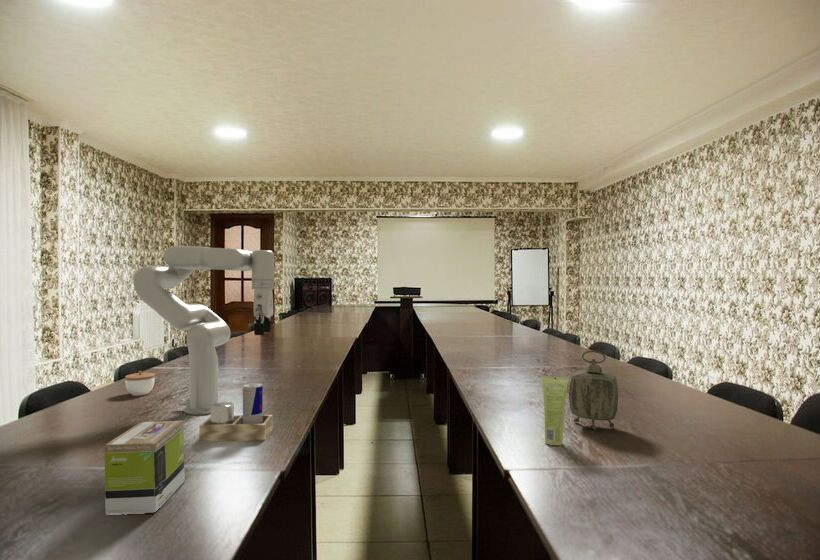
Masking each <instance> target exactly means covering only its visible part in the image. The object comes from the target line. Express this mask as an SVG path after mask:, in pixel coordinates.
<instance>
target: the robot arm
mask: <svg viewBox="0 0 820 560" xmlns="http://www.w3.org/2000/svg"><path fill="white" fill-rule="evenodd" d="M162 257H163V261H164V263H165V264H166V265H146V266H143V267H140V268H139V269H138V270H136V272H135V274H134V275H133V276H134V277H133V287H134V291H135V293H136V294H137V297H139V298H140V300H141V301H142V302H143V303H144V304H146V305H147V306H148V307H149V308H150V309H153V310H154V311H155V312H156V313H157V314H158V315H159V316H160V317H162V318H163V320H165V321H166V322H167V323H168V324H170V325H171V326H172V327H173V328H175V329H176V330H179V331H188V332H187V333H186V345H187V349H188V359H189V360H188V361H189V363H188V364H189V367H188V368H189V375H188V376H189V378H188V379H189V380H188V382H189V387H188V389H189V390H188V391H189V392H188V393H189V395H188V396H189V397H188V398H179V399H178V401H177V404H178V406H186V407H185V408H184V413H185V414H187V415H194V416H195V415H208V414H211V405H213V404H216V403H219V357H218V353H217V350H216V348H217V347H219V346H220V347H221V346H223V345H224V344H226V343H227V342H228V341H229V340H230V338H231V335H232V334H231V333H232V332H231V328H230V327H229V325H228V324H227V322H226V321H224V320H223V319H222V318H221V317H220V316H218V314H216V313H215V312H213V310H211V309H210V308H208V307H207V306H205V305H204V304H201V303H187V302H184V301H182V300H181V299H180V298H179V297H178V296H176V295H175V294H174V293H172V291H169V290H168V289H171V288H175V287H177V286H178V285H180V284H181V283H183V282H184V280H186V279H187V278H188V277H189V276H190V275H192V273H193V272H194V271H196V270H197V271H210V270H217V271H218V270H219V271H220V270H223V271H234V272H235V271H237V272H240V271H242V272H250V271H251V290H253V291H254V292H253V316H254V322H253V325H254V326H253V327H254V329H253V331H254V336H264V335H265V333H270V332H271V329H272V326H271V322H272V321H271V320H272V318H271V317H272V316H273V315H274V297H273V295H274V294H273V290H274V289H275V253H274V252H273V251H272V250H267V249H266V250H265V249H258V250H257V249H255V250H254V251H253V250H248V249H247V250H246V249H242V248H241V249H238V248H231V247H230V248H225V247H224V248H223V247H210V246H197V245H180V244H179V245H177V244H176V245H172V246H169V247H168V248H166V249H165V250H164V252H163V256H162Z"/></svg>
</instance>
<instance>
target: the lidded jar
mask: <svg viewBox="0 0 820 560" xmlns="http://www.w3.org/2000/svg"><path fill="white" fill-rule="evenodd" d="M124 379H125V382H124V383H125V387H126V391H127V392H128V393H130V394H131V396H136V397H137V396H145V395H148V394H149V393H150V392H151V391H152V389H154V388H153V387H154V386H155V381H156V374H155V372H142V370H139V371H138V372H135V373H131V374H127V375H125V376H124Z"/></svg>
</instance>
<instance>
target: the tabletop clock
mask: <svg viewBox="0 0 820 560" xmlns="http://www.w3.org/2000/svg"><path fill="white" fill-rule="evenodd" d="M589 353H597V354H600V355H602V357H603V359H602V360H600V361H596V359H595V358H592V359H591V360H587V359H585V358H584V356H585V355H586V354H589ZM581 359H582V360H583V361H584V362H585V363H588V365H586V367H585V369H579V370H576V371H574V372H573V374H572V376H571V379H570V382H569V389H568V399H569V400H568V402H569V409H570V411H571V414H572V415H573V416H576V418H574V419H573V422H574V423H575V422H579V423H580V418H581V419H587V420H591V425H590V429H591V430H592V429H595V430H597V426H596V425H595V421H607V422H608V427H609V428H611V427H613V428H614V427H615V423H614V422H612V421H611V420H615V418H616V415H617V411H618V406H619V386H618V380H617V377H616V375H615V374H614V373H611V372H608V371H603V369H602V368H601V366H600V365H599V364H602V363H604V362H605V360H606V355H605V354H604V353H603V352H601V351H599V350H595V349H592V350H591V349H590V350H589V349H588V350H586V351H584V352H583V353H582V356H581Z"/></svg>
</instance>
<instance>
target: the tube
mask: <svg viewBox="0 0 820 560" xmlns="http://www.w3.org/2000/svg"><path fill="white" fill-rule="evenodd" d="M568 383H569V377H565V376H549V375H541V386H542V395H543V413H544V443H545V444H546V443H547V444H546V445H548V444H550V445H549V446H552V445H560V446H562V445H563V443H564V442H563V441H564V440H563V439H564V425H565V422H564V421H565V412H566V411H565V410H566V399H567V391H568V390H567V389H568ZM561 444H562V445H561Z"/></svg>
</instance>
